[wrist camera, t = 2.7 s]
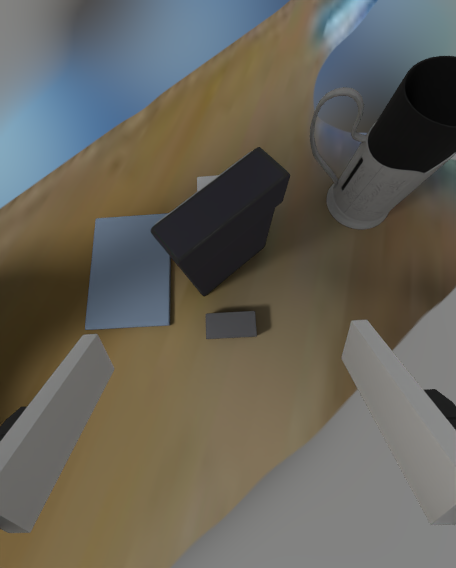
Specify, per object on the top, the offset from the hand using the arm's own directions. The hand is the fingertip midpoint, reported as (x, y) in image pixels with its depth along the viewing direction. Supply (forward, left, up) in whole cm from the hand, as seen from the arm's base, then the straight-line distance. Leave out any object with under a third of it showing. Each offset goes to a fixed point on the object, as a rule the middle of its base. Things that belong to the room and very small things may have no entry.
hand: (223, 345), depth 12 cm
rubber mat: (-14, +11, -17) cm, 24 cm away
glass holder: (+16, +20, -17) cm, 31 cm away
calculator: (0, +11, -17) cm, 20 cm away
